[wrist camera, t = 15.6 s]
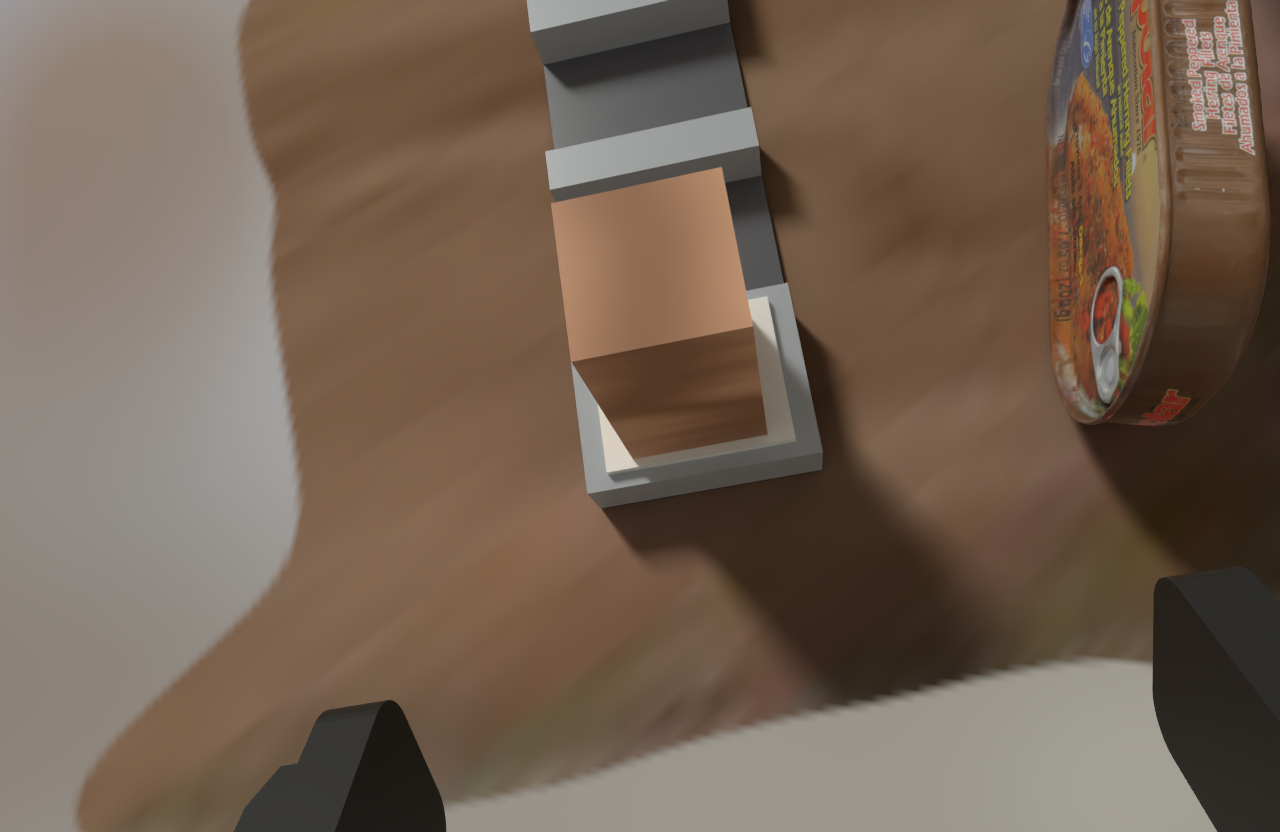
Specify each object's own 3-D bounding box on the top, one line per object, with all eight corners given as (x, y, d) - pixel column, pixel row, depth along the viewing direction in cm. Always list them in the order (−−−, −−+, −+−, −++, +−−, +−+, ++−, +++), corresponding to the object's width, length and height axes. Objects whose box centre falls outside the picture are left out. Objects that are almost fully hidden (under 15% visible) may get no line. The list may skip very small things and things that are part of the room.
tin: (1043, 38, 34) (1115, -177, 26) (1142, 36, 33) (1247, -184, 25) (1049, 460, 29) (1138, 358, 21) (1163, 467, 29) (1298, 364, 21)
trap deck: (706, -89, 38) (700, -140, 35) (822, 469, 30) (822, 449, 28) (530, -47, 38) (513, -94, 36) (600, 508, 31) (585, 491, 29)
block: (743, 310, 30) (721, 166, 22) (767, 434, 28) (752, 326, 21) (615, 336, 30) (550, 203, 23) (633, 459, 29) (571, 361, 21)
